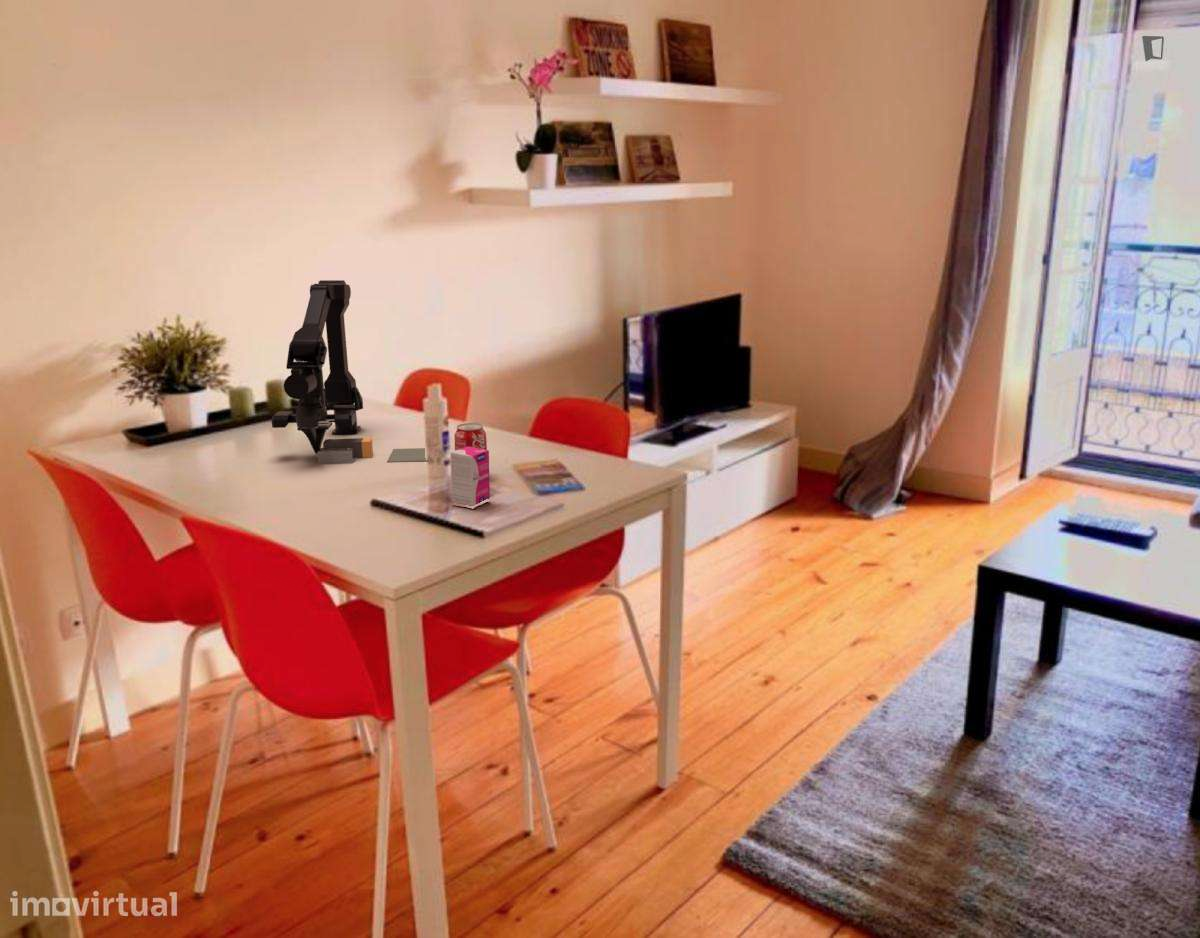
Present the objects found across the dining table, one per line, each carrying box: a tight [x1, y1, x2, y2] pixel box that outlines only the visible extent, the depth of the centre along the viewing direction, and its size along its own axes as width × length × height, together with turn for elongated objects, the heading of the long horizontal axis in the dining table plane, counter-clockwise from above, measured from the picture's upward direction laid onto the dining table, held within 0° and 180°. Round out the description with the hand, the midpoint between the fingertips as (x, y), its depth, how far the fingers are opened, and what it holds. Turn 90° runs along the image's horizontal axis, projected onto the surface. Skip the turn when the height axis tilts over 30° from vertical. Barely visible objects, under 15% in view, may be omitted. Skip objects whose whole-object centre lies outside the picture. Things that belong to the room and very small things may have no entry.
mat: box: [386, 447, 427, 463], centre depth 234 cm, size 11×11×1 cm
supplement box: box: [450, 446, 491, 506], centre depth 197 cm, size 6×6×12 cm
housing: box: [316, 447, 356, 465], centre depth 232 cm, size 11×8×3 cm
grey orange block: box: [322, 437, 374, 459], centre depth 232 cm, size 4×11×4 cm, turn 97°
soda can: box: [454, 422, 488, 451], centre depth 214 cm, size 7×7×12 cm
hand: (317, 453), depth 232 cm, fingers closed
